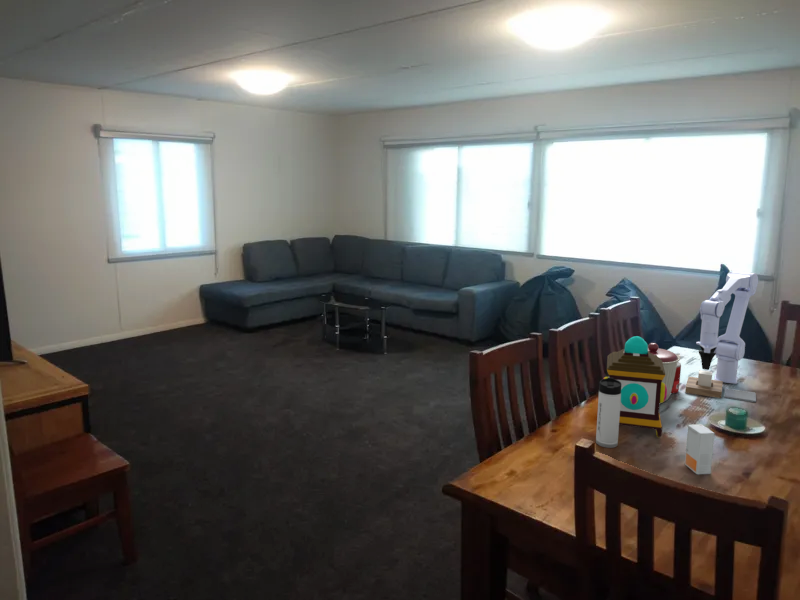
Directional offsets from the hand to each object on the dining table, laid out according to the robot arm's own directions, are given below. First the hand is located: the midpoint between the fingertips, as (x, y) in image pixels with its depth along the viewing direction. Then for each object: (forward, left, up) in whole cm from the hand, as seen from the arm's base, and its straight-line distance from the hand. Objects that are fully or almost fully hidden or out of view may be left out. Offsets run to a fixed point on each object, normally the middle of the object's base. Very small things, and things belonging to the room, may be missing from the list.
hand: (706, 366), depth 221 cm
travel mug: (+68, -23, -10) cm, 72 cm away
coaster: (+1, +12, -9) cm, 15 cm away
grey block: (0, 0, -9) cm, 9 cm away
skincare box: (+73, +2, -10) cm, 74 cm away
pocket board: (0, 0, -9) cm, 9 cm away
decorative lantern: (+49, -19, -10) cm, 53 cm away
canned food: (+7, -12, -10) cm, 17 cm away
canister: (+20, -17, -10) cm, 28 cm away
